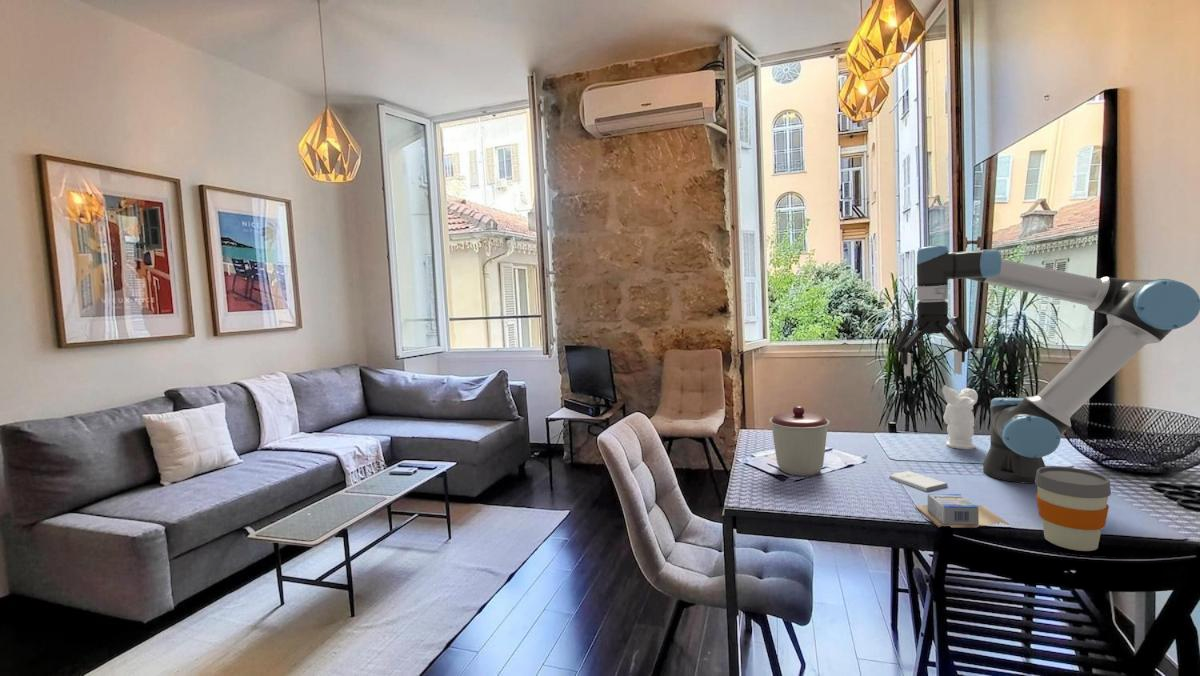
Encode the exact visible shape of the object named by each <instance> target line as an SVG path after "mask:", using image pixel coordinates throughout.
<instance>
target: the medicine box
mask: <svg viewBox="0 0 1200 676" xmlns="http://www.w3.org/2000/svg"><path fill="white" fill-rule="evenodd" d="M927 505H928V511H929V512H930V513H931V514H932V515H934V516H935V517H936V518H937V519H938V520H939V521H940V522H942V523H943V524H977V525H978V524H979V512H978V507H977V506H976V505H977V504H975V503H973V502H972V501H970V500H969V499H968V498H966V497H965V496H963V495H962V494H960V493H957V494H956V493H953V494H952V493H943V494H942V493H939V494H936V493H935V494H934V493H932V494H931V493H930V494H929V493H928V494H927Z"/></svg>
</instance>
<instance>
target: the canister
mask: <svg viewBox="0 0 1200 676" xmlns="http://www.w3.org/2000/svg"><path fill="white" fill-rule="evenodd" d="M768 422H769V424H770V425H771V429H772V431H771V432H772V439H773V445H774V450H775V458H776V462H777V465H778V468H779V469H780V470H781V471H782V472H784V473H786V474H788V475H791V476H792V475H793V476H800V477H801V476H802V477H805V476H813V475H814V476H815V475H817V474H818V473H820V472H821V471H822V469H823V466H824V461H825V455H826V444H827V443H826V442H827V434H828V426H829V425H830V420H829V419H827V418H826V417H824V416H823V415H820V414H817V413H812V412H805V409H804V407H803V406H801V405H796V406H794V407H793V408H792V411H791V412H790V411H788V412H781V413H778V414H775V415H774V416H772V417H770V418H769V419H768Z"/></svg>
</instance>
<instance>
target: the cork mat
mask: <svg viewBox="0 0 1200 676" xmlns="http://www.w3.org/2000/svg"><path fill="white" fill-rule="evenodd" d="M975 505H976V506H977V507H978V512H979V524H978V525H977V524H943V523H942V522H940V521H939V520H938V519H937V518H936V517H935V516H934V515H932V514H931V513H930V512H929V511H928V504H926V505H922V504H919V505H917V504H916V505H915V508H916V509H917V510H918V511H919V512H920V513H921V514H922V515H924V516H925V517H926V518H927V517H928V518H929V519H928V518H927V519H928V520H930V521H931V522H932V521H933V522H932V523H933V524H934V525H935V526H937V527H938V528H940V527H941V526H950V527H951V528H953V529H954V528H958V529H959V528H961V529H962V528H969V529H970V528H977V527H979V526H986V525H993V524H996V523H997V524H999V523H1000V522H1001V523H1004V524H1007V525H1009V524H1010V522H1008V521H1006V520H1004V519H1003V518H1002V517H1000V516H999V515H997V514H996V513H995V512H993V511H991V510H989V508H987V507H985V505H982V504H975ZM940 529H941V528H940Z"/></svg>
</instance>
